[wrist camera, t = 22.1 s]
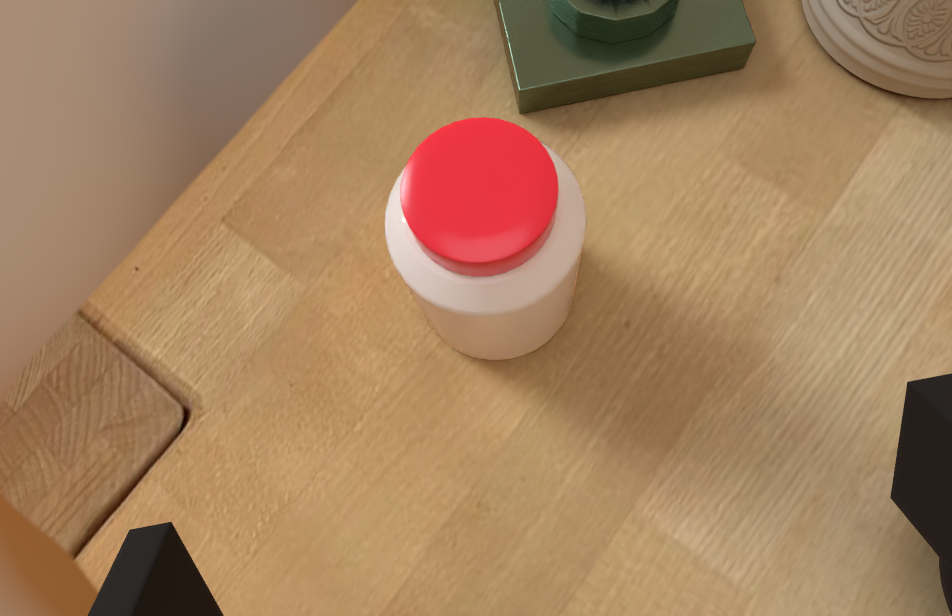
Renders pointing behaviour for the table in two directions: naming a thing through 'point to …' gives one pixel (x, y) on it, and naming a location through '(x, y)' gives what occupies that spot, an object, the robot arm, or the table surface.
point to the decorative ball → (946, 583)
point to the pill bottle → (488, 236)
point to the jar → (889, 42)
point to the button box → (617, 45)
